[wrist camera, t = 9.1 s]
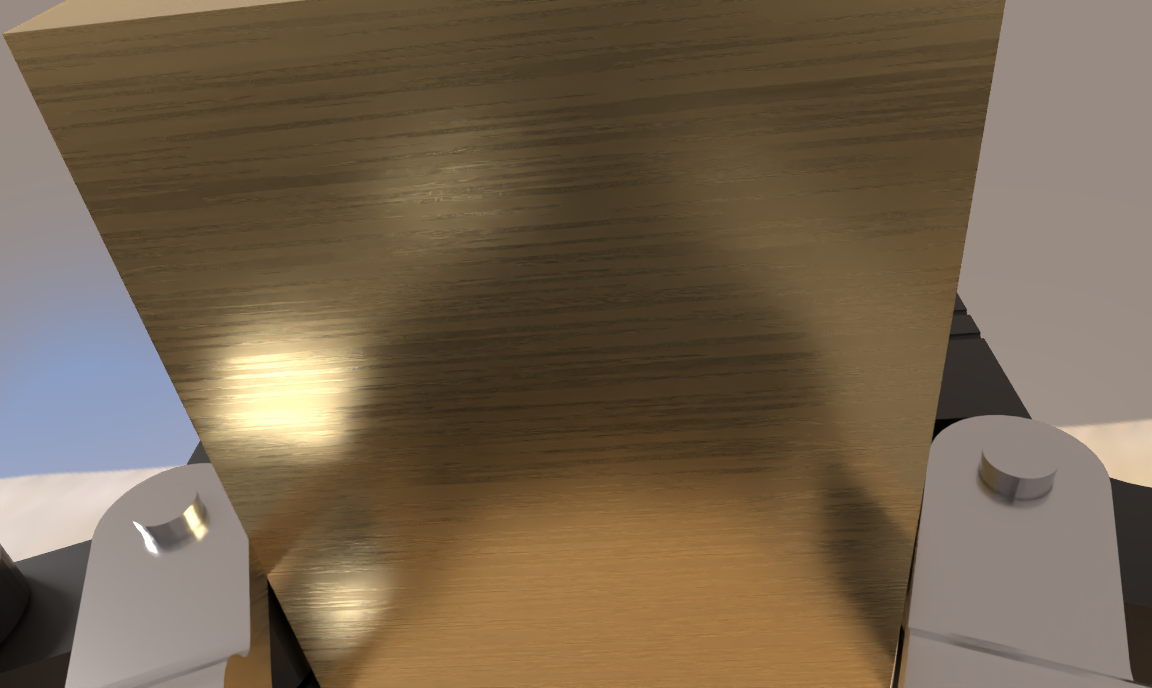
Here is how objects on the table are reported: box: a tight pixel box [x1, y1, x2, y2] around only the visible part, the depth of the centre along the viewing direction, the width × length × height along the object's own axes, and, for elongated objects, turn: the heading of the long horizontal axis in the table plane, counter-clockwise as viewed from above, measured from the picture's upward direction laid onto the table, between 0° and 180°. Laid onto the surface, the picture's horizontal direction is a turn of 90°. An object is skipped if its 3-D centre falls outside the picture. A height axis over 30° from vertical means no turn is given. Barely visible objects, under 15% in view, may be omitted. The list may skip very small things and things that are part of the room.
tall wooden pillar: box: [3, 0, 1006, 688], centre depth 9 cm, size 5×4×12 cm
